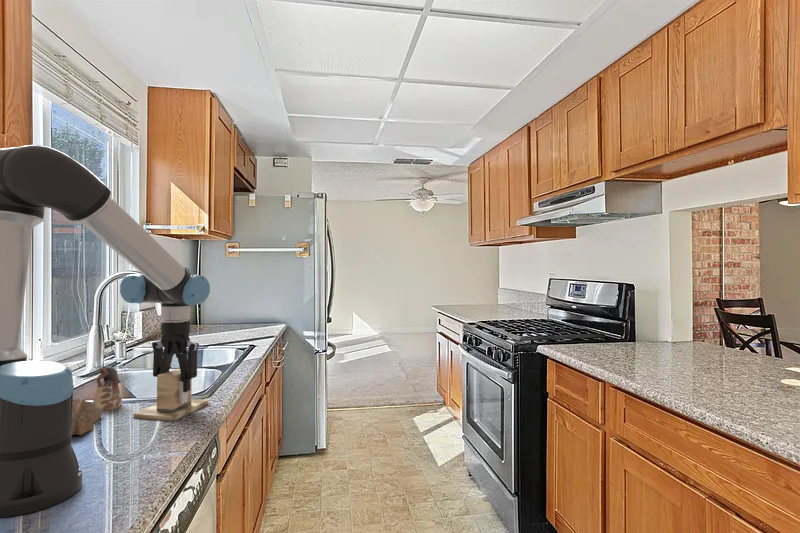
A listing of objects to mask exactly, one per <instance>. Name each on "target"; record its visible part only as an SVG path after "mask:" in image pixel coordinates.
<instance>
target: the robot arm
mask: <svg viewBox="0 0 800 533" xmlns="http://www.w3.org/2000/svg"><path fill="white" fill-rule="evenodd" d="M46 208H48V209H51V210H53V211H56V212H57V213H60V214H61V215H62V216H63V217H64V218H66V219H67V220H69V221H70V222H72V223H77V222H78V223H80V224H82V225H83V226H84V227H85V228H86V229H87V230H89V231H90V232H92V234H94V235H95V236H96V237H97V238H98V239H100V241H102V242H103V243H105V244H106V245H107V246H108V247H109V248H110V249H111V250H113V251H114V252H115V253H116V254H117V255H119V256H120V257H121V258H122V259H123V260H125V261H126V262H127V263H128V264H130V265H131V266H132V267H133V268H134V269H135V270H137V272H139V273H134V274H128V275H126V276H125V277H123V278H122V280H121V282H120V284H119V293H120V296H121V298H122V300H123V301H124V302H127V303H128V304H143V303H145V304H146V303H150V304H152V303H153V304H160V320H161V322H160V335H161V338H160V340H158V341H157V340H156V341H153V342H152V343H151V346H152V350H153V351H152V352H153V354H152V355H153V358H152V360H153V361H152V377H155V378H157V375H159V374H163V373H166V372H169V371H171V370H170V369H171V365H172V362H173V358H174V355H175V358H177V362H178V365H179V366H178V367H179V369H180V372H181V376H182V380H181V381H179V404H181V405H182V404H184V403H186V402H188V391H190V380H191V379H192V380H193V379H194V378H197V377H198V349H199V346H200V344H199V342H193V341H192V340H191V339H190V333H191V322H190V319H191V305H201V304H203V303H204V302H206V301H207V299H208V298H209V295H210V291H211V285H210V283H209V281H208V279H207V277H205V276H203V275H201V274H196V273H195V274H191V269H190V267H187V266H183V265H181V263H179V262H178V260H176V259H175V257H173V256H172V255H171V254H170V253H169V252H168V251H167V250H166V249H165V248H164V247H163V246H162V245H161V244H160V243H159V242H158V241H156V239H155V238H153V237H152V236H151V235H150V234H149V232H147V231H146V230H145V229H144V228H143V227H142V226H141V225H140V224H139V223H138V222H137V220H135V219H134V218H132V216H130V214H129V213H128V212H127V211H126V210H124V209H123V208H122V207H121V205H119V204H118V203H117V202H116V201H115V200H114V199H113V198H112V191H111V189H110V188H109V187H108V186H107V185H106V184H105V183H104V182H103V181H102V180H101V179H100V178H98V176H97V175H95V174H94V173H93V172H92V171H90V170H89V169H88V168H87V167H85V166H84V165H83V164H81V163H80V162H78V161H77V160H75V159H74V158H72V157H71V156H69V155H68V154H66V153H64V152H62V151H59V149H58V150H57V149H55V148H52V147H49V146H44V145H39V144H38V145H37V144H30V145H29V144H28V145H23V146H22V145H21V146H15V147H0V518H7V517H8V518H9V517H16V516H20V515H21V516H22V515H27V514H29V513H34V512H38V511H42V510H44V509H47V508H51V507H53V506H55V505H58V504H61V503H62V502H64V501H65V500H68V499H69V498H71V497H73V496H74V495H75V494H76V493H78V492H79V491H80V490H81V489H82V486H83V471H82V469H81V467H80V464H79V462H78V459H77V455H76V452H75V451H74V448H73V445H72V444H73V443H72V441H73V440H72V439H73V438H72V437H73V435H72V408H73V400H74V399H73V398H74V391H75V386H74V385H75V384H74V378H73V372H72V370H71V368H70V367H68V365H65V364H63V363H60V362H57V361H50V360H42V361H39V360H28V354H27V353H26V352H25V351H23V349H21V348H20V346H19V344H20V337H21V327H22V320H23V311H24V303H25V296H26V295H25V294H26V287H27V279H28V269H29V260H30V253H31V245H32V237H33V230H34V228H35V227H36V226H38V225H40V224H41V223H43V222H44V216H45V209H46Z"/></svg>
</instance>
